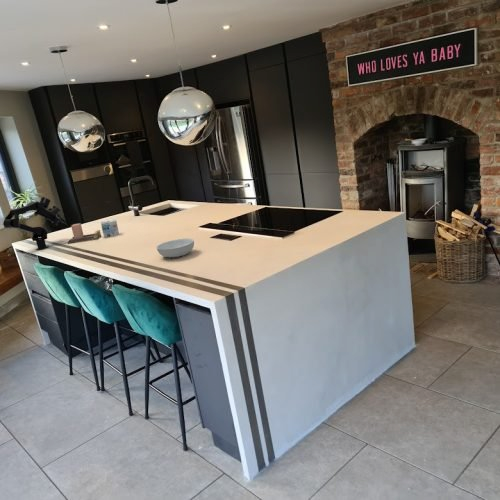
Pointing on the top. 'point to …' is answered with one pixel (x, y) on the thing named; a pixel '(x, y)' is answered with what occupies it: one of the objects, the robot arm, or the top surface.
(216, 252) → the top surface
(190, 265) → the top surface
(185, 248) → the serving bowl
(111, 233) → the light bulb box
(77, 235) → the marker sleeve
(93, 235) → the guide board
